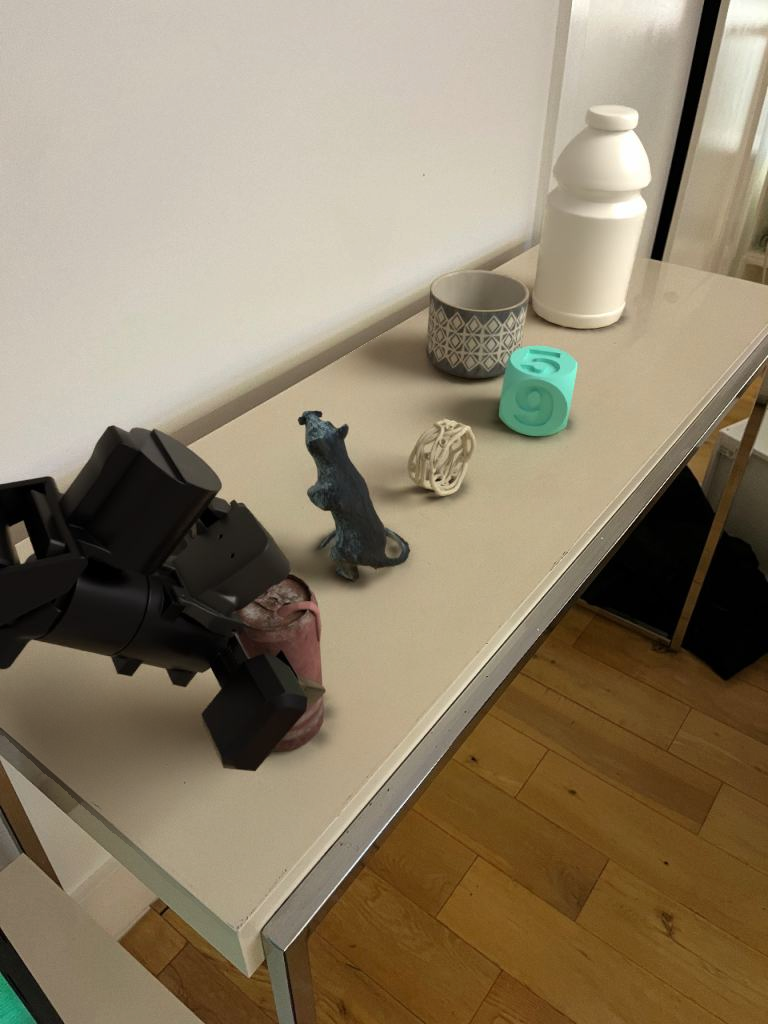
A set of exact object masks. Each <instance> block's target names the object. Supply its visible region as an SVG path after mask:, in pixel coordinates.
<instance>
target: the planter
mask: <svg viewBox="0 0 768 1024" xmlns="http://www.w3.org/2000/svg"><path fill="white" fill-rule="evenodd" d="M529 298H530V291H529V289H528V287H527V286H526V285H525V283H523V282H522V281H521V280H519V279H517V278H515V277H514V276H511V275H508V274H505V273H503V272H499V271H493V270H485V269H462V270H461V269H460V270H455V271H451V272H447V273H443V274H442V275H439V276H438V277H436V278H435V279H434V280H433V281H432V282H431V283H430V286H429V303H428V321H427V339H426V340H427V341H426V356H427V359H428V360H429V362H430V363H431V364H432V365H433V366H434V367H436V368H437V369H439V370H440V371H442V372H444V373H447V374H449V375H453V376H457V377H461V378H467V379H468V378H469V379H489V378H494V377H498V376H502V375H505V370H506V366H507V362H508V358H509V355H510V354H511V353H513V352H514V351H516V350H518V349H520V348H523V347H522V346H523V339H524V332H525V325H526V318H527V312H528V305H529Z"/></svg>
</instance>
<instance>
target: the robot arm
mask: <svg viewBox="0 0 768 1024" xmlns="http://www.w3.org/2000/svg"><path fill="white" fill-rule="evenodd" d="M222 487H223V484H222V481H221V479H220V477H219V475H218V474H217V472H215V470H214V469H213V468H212V467H211V466H210V465H209V463H207V462H206V461H205V460H204V459H203V458H202V457H200V456H199V455H198V454H197V453H195V452H194V451H193V450H192V449H190V448H189V447H187V445H185V444H183V443H182V442H180V441H179V440H178V439H176V438H174V437H172V436H171V435H168V434H167V433H165V432H164V431H162V430H159V429H157V428H153V429H152V430H151V429H147V428H144V427H132V428H131V429H130V430H129V431H128V430H125V429H124V428H121V427H118V426H116V425H114V424H113V425H112V424H111V425H109V426H107V427H106V429H105V430H104V431H103V433H102V435H100V437H99V439H98V440H97V442H96V443H95V446H94V448H93V451H92V453H91V455H90V456H89V459H88V460H87V462H86V463H85V465H83V467H82V469H81V470H80V471H79V472H78V474H77V475H76V477H75V478H74V480H73V481H72V482H71V484H70V485H69V486H68V487H67V489H66V491H65V492H64V493H62V492H60V490H59V488H58V485H57V482H56V480H55V478H54V477H52V476H50V475H45V476H40V477H35V478H29V479H23V480H17V481H11V482H4V483H0V670H8V669H10V667H12V665H14V663H15V661H16V660H17V659H18V657H19V656H20V655H21V654H22V652H23V651H24V649H26V647H27V646H28V644H29V643H30V642H31V641H36V642H41V643H46V644H50V645H55V646H58V647H59V646H60V647H63V648H68V649H73V650H77V651H82V652H86V653H92V654H95V655H96V654H97V655H100V656H105V657H108V658H111V661H112V664H113V666H114V669H115V672H116V674H117V675H122V676H126V677H131V678H132V677H133V676H134V674H135V673H136V672H137V670H138V669H139V668H140V667H141V665H146V666H150V667H156V668H161V669H165V671H166V673H167V675H168V677H169V680H170V682H171V684H172V685H173V686H175V687H176V686H177V687H181V688H187V686H188V685H189V684H190V683H191V681H192V680H193V679H194V678H195V677H196V675H197V674H199V673H200V674H203V673H205V672H207V671H208V670H211V671H212V673H213V675H214V677H215V679H216V681H217V684H218V685H219V687H220V689H219V691H218V692H217V693H216V695H215V696H214V697H213V698H212V700H210V702H209V703H208V704H207V706H206V707H205V708H204V709H203V710H202V712H201V713H200V715H201V719H202V724H203V727H204V729H205V731H206V733H207V736H208V738H209V740H210V742H211V744H212V747H213V749H214V751H215V753H216V756H217V758H218V760H219V762H220V764H221V766H222V768H223V769H226V770H227V769H228V770H236V771H246V772H257V770H258V769H259V768H260V767H261V765H262V764H263V763H264V762H265V761H266V760H267V758H268V757H269V756H270V755H271V753H272V752H273V751H275V750H274V749H275V747H276V746H277V745H278V744H279V743H280V741H281V740H282V739H283V738H284V737H285V735H286V734H287V733H288V732H289V731H290V730H291V728H292V727H293V726H294V725H295V724H296V722H297V721H298V720H299V719H300V718H301V717H302V715H303V714H304V713H305V712H306V708H307V705H309V704H312V703H314V702H316V701H318V700H319V699H320V698H321V697H322V695H323V696H324V695H325V693H326V692H327V690H326V688H325V687H324V686H323V684H322V685H320V684H318V683H316V682H314V681H312V680H310V679H307V678H305V677H302V676H300V675H297V673H296V672H295V670H294V669H293V667H292V665H291V664H290V662H289V660H288V659H287V657H286V655H285V654H284V652H283V651H282V650H280V652H279V653H278V654H277V655H276V656H272V655H268V654H265V653H263V654H260V655H258V656H255V657H253V658H251V657H250V655H249V654H248V652H247V650H246V648H245V646H244V645H243V643H242V641H241V639H240V638H239V636H238V634H237V631H238V630H239V628H240V627H241V626H242V625H243V621H242V619H241V618H240V616H239V614H237V613H234V612H232V611H238V610H241V609H243V608H245V607H246V606H247V605H249V604H250V603H251V602H253V601H254V600H255V599H257V598H258V597H259V596H260V595H262V594H263V593H264V592H266V591H267V590H268V589H270V588H271V587H272V586H274V585H278V584H280V583H281V582H282V581H284V580H285V579H286V577H287V576H288V575H289V573H290V572H291V569H292V566H291V562H290V561H289V560H290V559H288V557H287V556H286V555H285V553H284V552H283V550H282V549H281V548H280V546H279V545H278V543H277V542H276V540H274V537H273V536H272V535H271V534H270V532H269V531H268V530H267V529H266V527H264V525H263V524H262V523H261V522H260V521H259V519H258V518H257V517H256V516H255V514H254V513H253V512H252V511H251V510H250V509H249V508H248V507H247V505H246V504H245V503H244V502H237V500H235V499H232V500H231V501H229V502H228V501H227V500H226V499H225V498H221V497H218V496H217V495H218V494H219V492H220V491H221V490H222V489H223V488H222ZM21 522H23V524H24V527H25V530H26V532H27V536H28V539H29V542H30V544H31V548H32V551H33V553H32V554H30V555H28V557H26V559H25V561H24V562H21V560H20V557H19V553H18V551H17V546H16V544H15V541H14V538H13V535H12V532H11V527H12V526H16V525H17V524H19V523H21ZM290 574H291V573H290Z"/></svg>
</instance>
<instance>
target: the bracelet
mask: <svg viewBox="0 0 768 1024" xmlns="http://www.w3.org/2000/svg"><path fill="white" fill-rule="evenodd" d="M445 437H446V438H447V437H449V439H448V440H447V439H446V438H445ZM460 440H461V441H460ZM469 440H470V448H469ZM459 441H460V445H459V446H458V447H456V448H454V444H457V443H458V442H459ZM431 443H433V444H432V447H431V448H430V451H425V446H427V445H429V444H431ZM439 447H440V448H441V450H440V452H439V454H438V456H437V457H436V453H437V449H438V448H439ZM476 447H477V442H476V437H475V435H474V433H473V431H472V427H470V426H469V425H466V424H464V423H462V422H458V421H456V420H453V419H452V420H449V419H447V418H442V419H441V420H437V421H435V422H433V424H432V426H431V427H430V428H429V429H426V431H424V432H423V433H422V434H420V436H419V437H418V440H417V441H416V443H415V445H414V447H413V449H412V450H411V452H410V455H409V457H408V461H407V473H408V477H409V478H410V479H411V481H412V482H413V483H414V484H415V485H418V486H419V487H421V488H423V489H427V490H430V491H434V492H435V495H436V496H439V497H445V496H449V495H453V494H455V493H456V492H457V491H458V490H459V489H460V487H461V485H462V482H463V480H464V478H465V476H466V474H467V473H466V472H467V470H468V465H469V463H470V461H471V459H472V457H473V456H474V454H475V451H476ZM447 451H448V455H447V458H446V459H445V461H443V463H442V464H441V466H440V468H439V471H438V473H436V470H437V468H438V466H439V465H440V463H441V462H442V460H443V459H444V457H445V455H446V454H447ZM460 451H461V452H460ZM458 452H460V453H459V455H458V456H457V457H456V459H455V456H456V454H457V453H458ZM454 459H455V460H454ZM414 461H415V462H414ZM427 461H428V462H429V472H428V479H427V480H426V476H427ZM459 463H461V465H460V467H459V469H456V467H457V466H458V464H459ZM451 479H454V480H453V481H452V482H451V483H450V481H451ZM436 480H438V481H436Z"/></svg>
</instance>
